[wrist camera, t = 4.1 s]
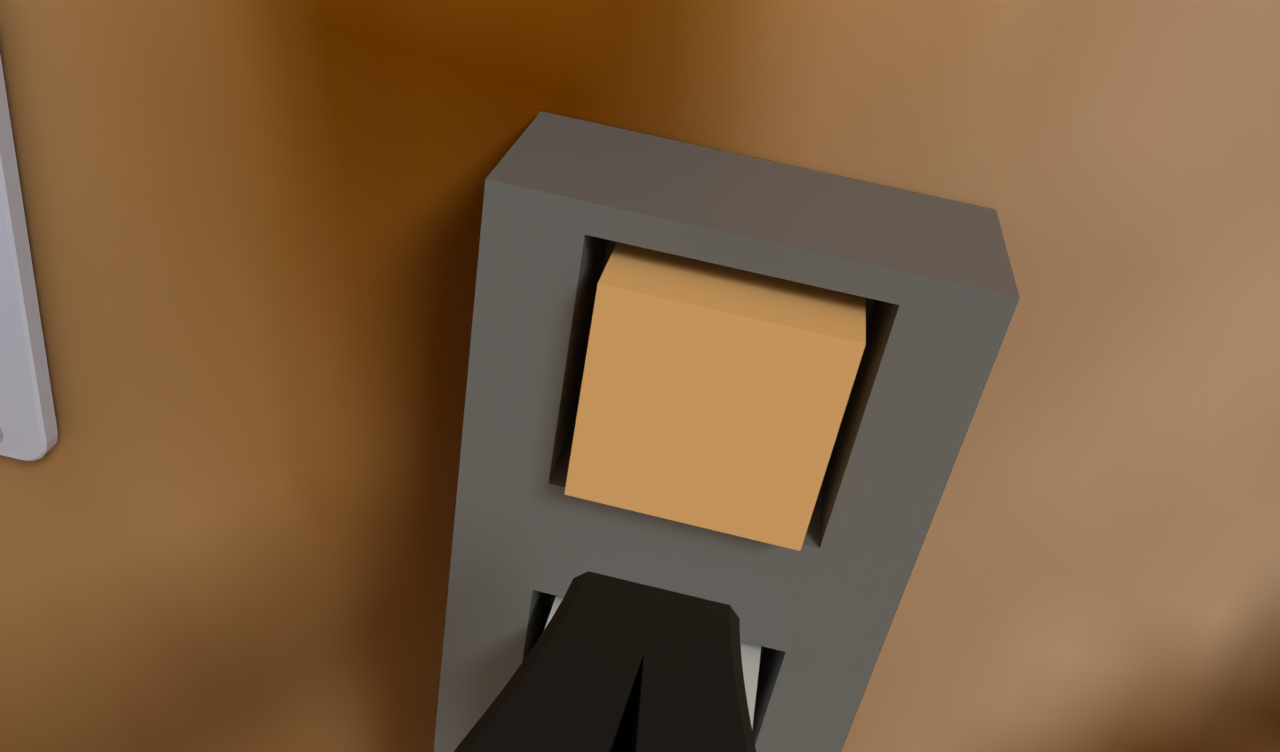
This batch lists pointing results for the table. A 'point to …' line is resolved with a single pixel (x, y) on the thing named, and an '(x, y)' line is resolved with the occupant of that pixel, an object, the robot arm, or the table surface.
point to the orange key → (713, 394)
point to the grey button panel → (682, 553)
